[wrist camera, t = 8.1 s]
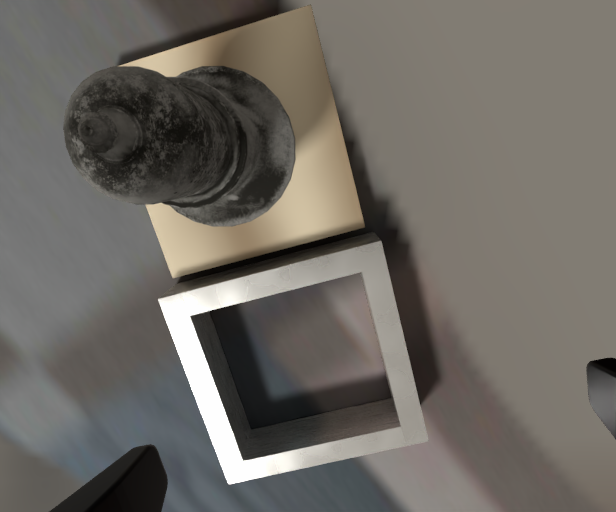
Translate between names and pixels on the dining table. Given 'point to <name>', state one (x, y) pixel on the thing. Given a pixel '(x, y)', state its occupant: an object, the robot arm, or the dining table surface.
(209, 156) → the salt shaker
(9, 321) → the dining table surface
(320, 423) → the grey square frame
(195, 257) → the wooden square board
